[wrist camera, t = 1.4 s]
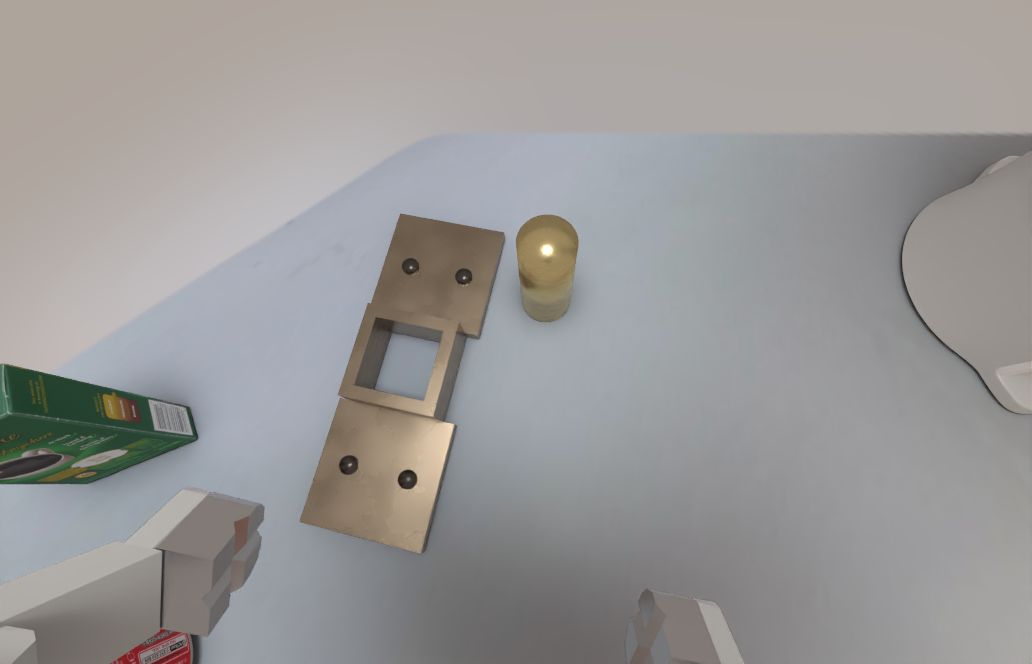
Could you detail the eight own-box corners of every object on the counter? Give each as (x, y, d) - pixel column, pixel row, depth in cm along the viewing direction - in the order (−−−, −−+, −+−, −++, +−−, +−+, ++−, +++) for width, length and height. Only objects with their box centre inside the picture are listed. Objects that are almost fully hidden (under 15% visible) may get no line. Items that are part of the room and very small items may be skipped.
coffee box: (195, 400, 35) (-2, 357, 22) (203, 439, 34) (4, 416, 21) (83, 445, 34) (-184, 427, 22) (89, 486, 33) (-185, 491, 21)
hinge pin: (573, 282, 36) (583, 220, 27) (564, 326, 35) (571, 276, 26) (528, 273, 36) (523, 209, 27) (517, 316, 35) (509, 264, 27)
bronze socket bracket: (504, 239, 37) (501, 215, 34) (424, 551, 31) (410, 560, 28) (404, 220, 38) (390, 195, 35) (306, 520, 32) (279, 525, 29)
